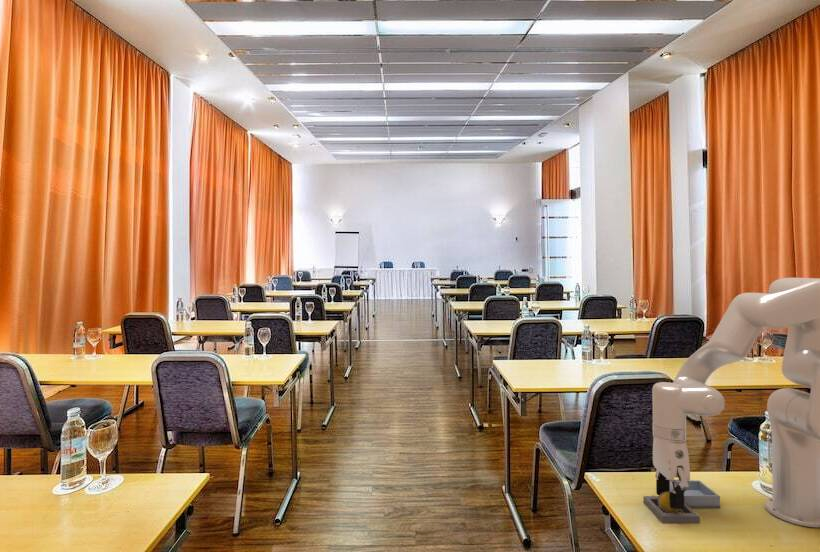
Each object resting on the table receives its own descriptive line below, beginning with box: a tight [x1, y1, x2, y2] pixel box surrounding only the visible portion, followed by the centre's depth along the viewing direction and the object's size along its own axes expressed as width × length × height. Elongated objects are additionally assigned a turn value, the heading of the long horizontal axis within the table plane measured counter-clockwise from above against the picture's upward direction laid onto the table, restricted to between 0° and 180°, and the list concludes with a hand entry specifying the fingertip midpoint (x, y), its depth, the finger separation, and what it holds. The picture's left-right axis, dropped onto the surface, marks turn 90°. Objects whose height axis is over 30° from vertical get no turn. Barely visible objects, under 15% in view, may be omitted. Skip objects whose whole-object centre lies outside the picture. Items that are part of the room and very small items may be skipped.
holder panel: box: [643, 495, 701, 525], centre depth 118 cm, size 9×10×2 cm
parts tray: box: [670, 479, 721, 509], centre depth 124 cm, size 9×9×3 cm
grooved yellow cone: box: [658, 491, 682, 513], centre depth 117 cm, size 5×5×10 cm
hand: (669, 500), depth 118 cm, fingers closed on grooved yellow cone, 6 cm apart
